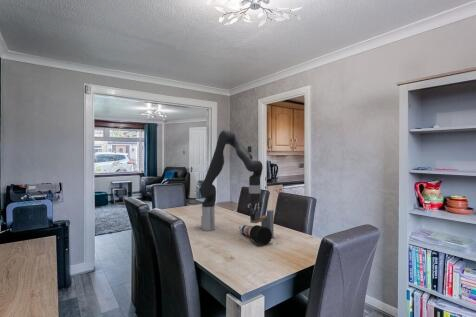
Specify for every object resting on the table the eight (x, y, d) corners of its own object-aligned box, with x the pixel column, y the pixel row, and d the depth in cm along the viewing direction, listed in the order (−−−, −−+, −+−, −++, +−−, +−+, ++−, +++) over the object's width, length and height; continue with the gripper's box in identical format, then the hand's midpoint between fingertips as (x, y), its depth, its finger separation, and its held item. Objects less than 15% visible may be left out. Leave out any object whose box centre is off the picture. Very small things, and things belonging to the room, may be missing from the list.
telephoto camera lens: (243, 237, 188) (248, 223, 190) (268, 247, 157) (274, 230, 160) (231, 232, 184) (237, 218, 187) (255, 241, 153) (261, 225, 156)
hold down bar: (250, 222, 164) (250, 210, 164) (265, 217, 177) (265, 206, 177) (255, 223, 162) (255, 211, 162) (270, 218, 175) (270, 207, 175)
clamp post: (261, 236, 174) (261, 209, 174) (264, 235, 177) (264, 208, 177) (270, 238, 170) (270, 211, 169) (273, 237, 173) (273, 210, 172)
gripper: (256, 190, 172) (256, 216, 172) (243, 192, 161) (243, 220, 161) (265, 191, 167) (265, 217, 168) (252, 193, 156) (252, 222, 157)
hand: (254, 218), depth 165 cm, fingers closed on hold down bar, 4 cm apart
